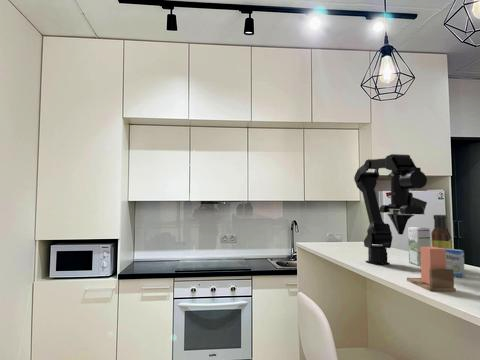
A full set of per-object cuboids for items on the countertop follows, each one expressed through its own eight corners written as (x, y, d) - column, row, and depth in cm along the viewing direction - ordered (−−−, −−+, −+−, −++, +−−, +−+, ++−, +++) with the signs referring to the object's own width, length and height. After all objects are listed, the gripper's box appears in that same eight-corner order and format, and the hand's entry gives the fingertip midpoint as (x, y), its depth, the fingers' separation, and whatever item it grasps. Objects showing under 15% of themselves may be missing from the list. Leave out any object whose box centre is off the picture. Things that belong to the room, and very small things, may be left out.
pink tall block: (421, 281, 90) (420, 246, 91) (436, 281, 90) (435, 246, 91) (430, 285, 85) (429, 248, 86) (446, 285, 86) (445, 249, 86)
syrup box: (432, 265, 119) (431, 228, 120) (418, 265, 118) (417, 227, 119) (421, 262, 125) (420, 226, 126) (408, 263, 124) (407, 226, 125)
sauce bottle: (457, 271, 109) (455, 215, 110) (439, 271, 109) (437, 215, 110) (445, 267, 115) (443, 214, 117) (428, 267, 116) (427, 214, 117)
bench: (406, 280, 95) (406, 261, 95) (429, 280, 95) (429, 261, 96) (430, 291, 84) (429, 269, 84) (456, 291, 84) (455, 269, 84)
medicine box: (434, 273, 105) (433, 248, 106) (437, 271, 108) (436, 247, 109) (462, 278, 100) (462, 251, 100) (464, 275, 103) (464, 249, 104)
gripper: (440, 189, 99) (441, 237, 98) (407, 191, 118) (408, 232, 117) (405, 188, 99) (406, 237, 98) (378, 190, 118) (379, 231, 116)
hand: (400, 234), depth 107 cm, fingers closed
